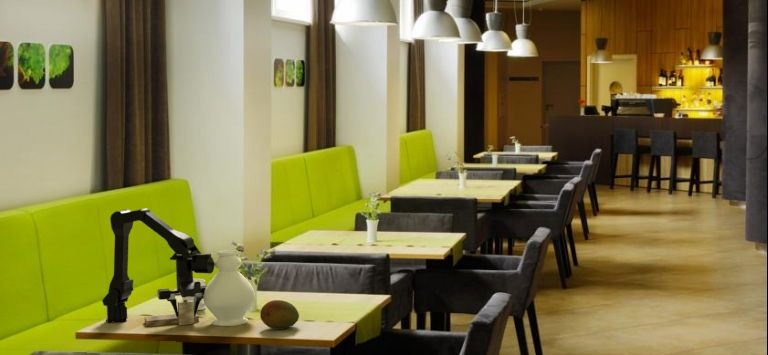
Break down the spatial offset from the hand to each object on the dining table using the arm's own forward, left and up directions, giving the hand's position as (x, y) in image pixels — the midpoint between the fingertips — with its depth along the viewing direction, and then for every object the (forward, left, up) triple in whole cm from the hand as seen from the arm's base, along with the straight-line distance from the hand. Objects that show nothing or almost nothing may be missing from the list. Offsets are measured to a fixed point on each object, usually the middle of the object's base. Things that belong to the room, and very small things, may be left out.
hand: (186, 316), depth 389 cm
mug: (+8, +23, -3) cm, 25 cm away
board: (-4, +5, -3) cm, 7 cm away
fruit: (+29, -21, -3) cm, 36 cm away
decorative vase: (+15, -4, -3) cm, 15 cm away
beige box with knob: (0, +3, -2) cm, 4 cm away
